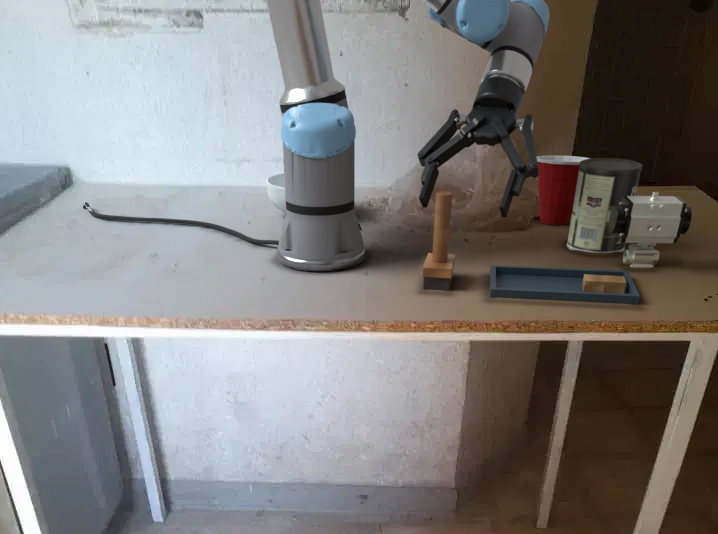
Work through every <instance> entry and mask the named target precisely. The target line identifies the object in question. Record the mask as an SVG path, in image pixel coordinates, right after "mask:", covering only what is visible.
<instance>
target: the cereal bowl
mask: <svg viewBox="0 0 718 534" xmlns="http://www.w3.org/2000/svg"><path fill="white" fill-rule="evenodd" d="M266 192H267V196H268V200H269V201H270V203H271V204H272V205H273V206H274V208H276V209H277V210H279V211H281V212H283V213H285V214H286V199H285V178H284V172H282V173H277V174H273V175H271V176H269V177H268V178H267V179H266Z"/></svg>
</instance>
